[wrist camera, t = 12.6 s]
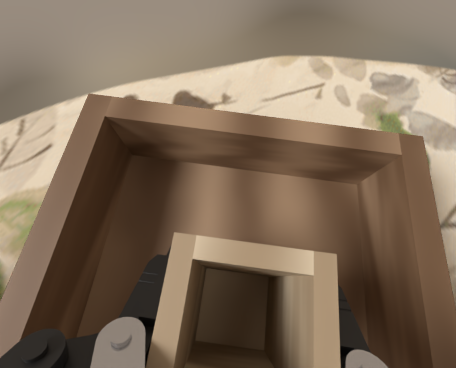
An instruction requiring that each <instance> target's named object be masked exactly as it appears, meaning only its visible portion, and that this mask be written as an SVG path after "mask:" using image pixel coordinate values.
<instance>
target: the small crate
mask: <svg viewBox="0 0 456 368" xmlns="http://www.w3.org/2000/svg"><path fill="white" fill-rule="evenodd" d="M146 368H341V364H340V334H339V305H338V275H337V254H332V253H324V252H317V251H309V250H302V249H295V248H287V247H280V246H273V245H265V244H258V243H250V242H243V241H236V240H228V239H221V238H213V237H206V236H199V235H191V234H184V233H176V232H174V235H173V240H172V245H171V250H170V254H169V259H168V264H167V269H166V274H165V278H164V283H163V288H162V293H161V297H160V302H159V307H158V312H157V316H156V321H155V326H154V331H153V335H152V340H151V345H150V350H149V355H148V359H147V364H146Z"/></svg>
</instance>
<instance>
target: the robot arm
mask: <svg viewBox="0 0 456 368" xmlns="http://www.w3.org/2000/svg"><path fill="white" fill-rule="evenodd" d="M171 245H172V244H171ZM170 250H171V246H170V248H169V250H168V253H167V255H160V254H157V255H156V256H155V257H154V258H152V259H151V260H150V261H149V262H148V263H147V265H146V267H145V269H144V271H143V274H142V275H141V276H140V278H139V281H138V282H137V284H136V286H135V288H134V289H133V291H132V293H131V295H130V297H129V299H128V301H127V302H126V304H125V306H124V308H123V310H122V312H121V314H120V315H119V317H118V318H117V319H116V320H114V321H112V322H110V323H109V324H107V325H106V326H105V327H104V328H103V329H102V330H101V331H100V332H98V333H95V334H92V335H88V336H82V337H76V338H71V339H65V336H64V334H63V333H62V332H61V331H59V330H57V329H43V330H39V331H36V332H34V333H32V334H30V335H28V336H26V337H25V338H23V339H22V340H20V341H19V342H18V343H17V344H15V345H14V346H13V347H12V348H11V349H10V350H9V351H7V352H6V353H5V354H4V355H3V356H2V357H1V358H0V368H146V364H147V359H148V355H149V350H150V345H151V340H152V335H153V331H154V326H155V321H156V316H157V312H158V307H159V302H160V297H161V293H162V288H163V283H164V278H165V274H166V269H167V264H168V259H169V254H170ZM338 305H339V334H340V364H341V368H388V367H387V366H386V365H385V363H383V362H382V361H381V360H380V359H379V358H378V357H376V356H375V355H373V354H372V353H371V352H370V350H369V347H368V345H367V343H366V341H365V339H364V336H363V334H362V332H361V330H360V328H359V325H358V323H357V321H356V319H355V317H354V314H353V312H351V308H350V305H349V303H347V299H346V297H345V294H344V292H343V290H342V288H341V287H340V286H339V285H338Z"/></svg>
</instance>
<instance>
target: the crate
mask: <svg viewBox="0 0 456 368" xmlns="http://www.w3.org/2000/svg"><path fill="white" fill-rule="evenodd" d="M174 232H176V233H184V234H191V235H199V236H206V237H213V238H221V239H228V240H236V241H243V242H250V243H258V244H265V245H273V246H280V247H287V248H295V249H302V250H309V251H317V252H324V253H332V254H337V275H338V285H339V286H340V287H341V288H342V290H343V292H344V294H345V297H346V299H347V303H349V305H350V308H351V312H353V314H354V317H355V319H356V321H357V323H358V325H359V328H360V330H361V332H362V334H363V336H364V339H365V341H366V343H367V345H368V347H369V350H370V352H371V353H372V354H373V355H375V356H376V357H378V358H379V359H380V360H381V361H382V362H383V363H385V365H386V366H387V367H388V368H456V308H455V303H454V298H453V292H452V287H451V282H450V277H449V271H448V266H447V261H446V255H445V250H444V245H443V240H442V234H441V229H440V224H439V219H438V213H437V208H436V203H435V198H434V192H433V187H432V182H431V176H430V171H429V166H428V161H427V155H426V150H425V145H424V140H423V136H415V135H407V134H399V133H392V132H384V131H376V130H368V129H360V128H353V127H345V126H337V125H329V124H322V123H314V122H306V121H298V120H290V119H283V118H275V117H267V116H259V115H251V114H244V113H236V112H228V111H220V110H212V109H205V108H197V107H189V106H181V105H174V104H166V103H158V102H150V101H142V100H135V99H127V98H119V97H111V96H103V95H96V94H88V97H87V99H86V101H85V104H84V106H83V108H82V111H81V113H80V115H79V118H78V120H77V122H76V125H75V127H74V130H73V132H72V134H71V137H70V139H69V141H68V144H67V146H66V148H65V151H64V153H63V155H62V158H61V160H60V162H59V165H58V167H57V169H56V172H55V174H54V177H53V179H52V181H51V184H50V186H49V188H48V191H47V193H46V195H45V198H44V200H43V202H42V205H41V207H40V209H39V212H38V214H37V217H36V219H35V221H34V224H33V226H32V228H31V231H30V233H29V235H28V238H27V240H26V242H25V245H24V247H23V249H22V252H21V254H20V256H19V259H18V261H17V264H16V266H15V268H14V271H13V273H12V275H11V278H10V280H9V282H8V285H7V287H6V289H5V292H4V294H3V296H2V299H1V301H0V358H1V357H2V356H3V355H4V354H5V353H6V352H7V351H9V350H10V349H11V348H12V347H13V346H14V345H15V344H17V343H18V342H19V341H20V340H22V339H23V338H25V337H26V336H28V335H30V334H32V333H34V332H36V331H39V330H43V329H57V330H59V331H61V332H62V333H63V334H64V336H65V339H71V338H76V337H82V336H88V335H92V334H95V333H98V332H100V331H101V330H102V329H103V328H104V327H105V326H106V325H107V324H109V323H110V322H112V321H114V320H116V319H117V318H118V317H119V315H120V314H121V312H122V310H123V308H124V306H125V304H126V302H127V301H128V299H129V297H130V295H131V293H132V291H133V289H134V288H135V286H136V284H137V282H138V281H139V278H140V276H141V275H142V274H143V271H144V269H145V267H146V265H147V263H148V262H149V261H150V260H151V259H152V258H154V257H155V256H156V255H157V254H160V255H167V253H168V250H169V248H170V246H171V244H172V240H173V235H174Z"/></svg>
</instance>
